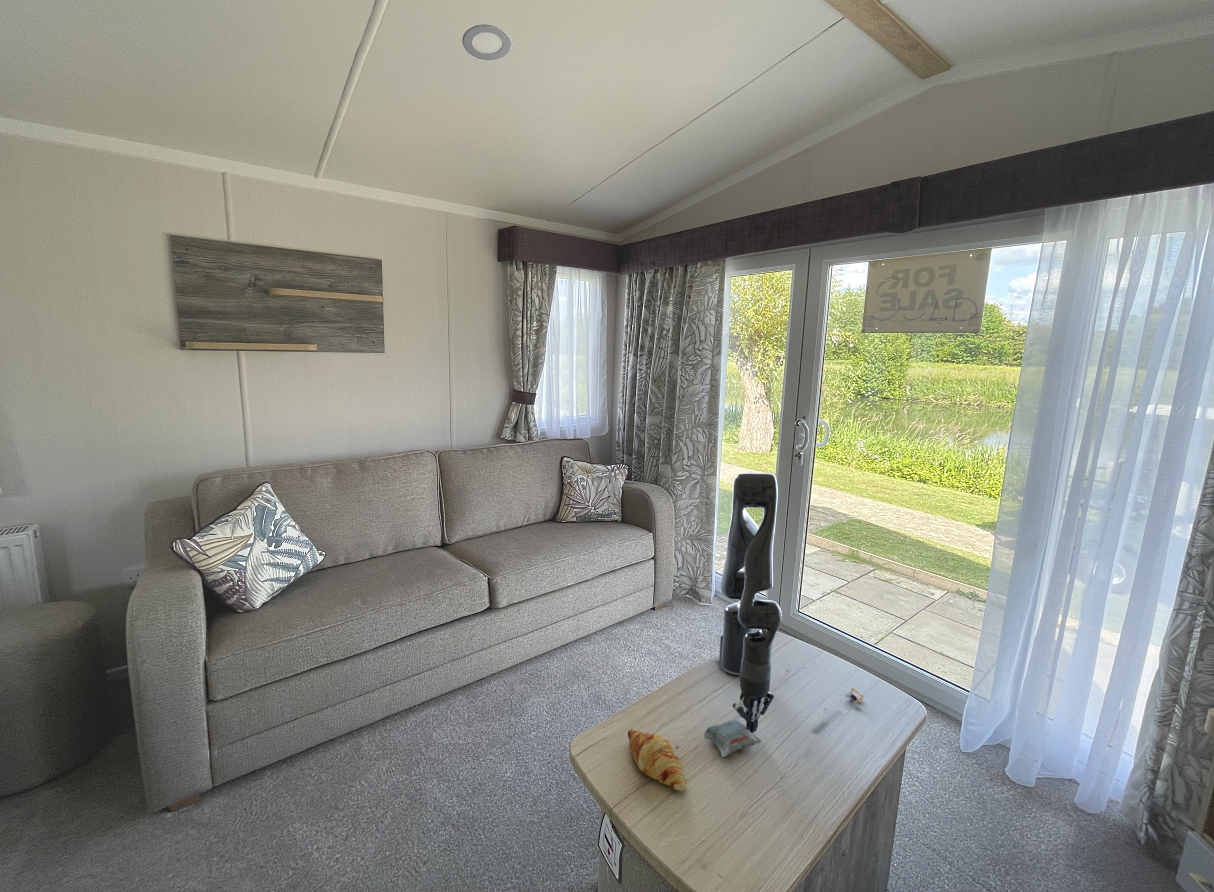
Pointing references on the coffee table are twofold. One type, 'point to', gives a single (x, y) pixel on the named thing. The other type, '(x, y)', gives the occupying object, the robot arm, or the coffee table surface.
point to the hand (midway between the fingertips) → (751, 730)
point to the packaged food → (730, 737)
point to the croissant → (656, 759)
